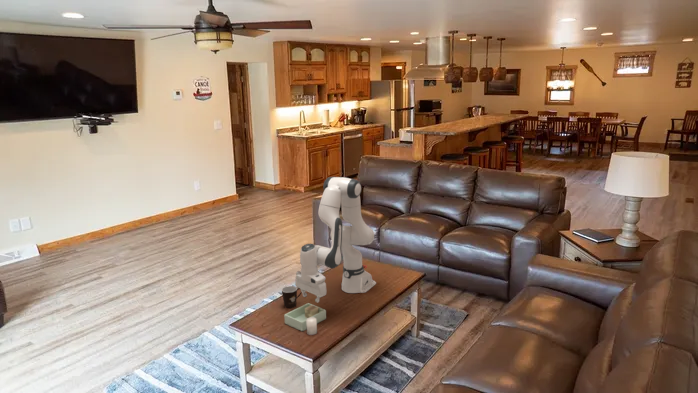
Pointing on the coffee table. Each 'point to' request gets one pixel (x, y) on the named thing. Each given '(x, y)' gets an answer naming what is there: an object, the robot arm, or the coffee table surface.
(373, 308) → the coffee table surface
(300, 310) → the tray
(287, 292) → the coffee mug
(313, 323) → the ceramic cylinder
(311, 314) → the beech cube
